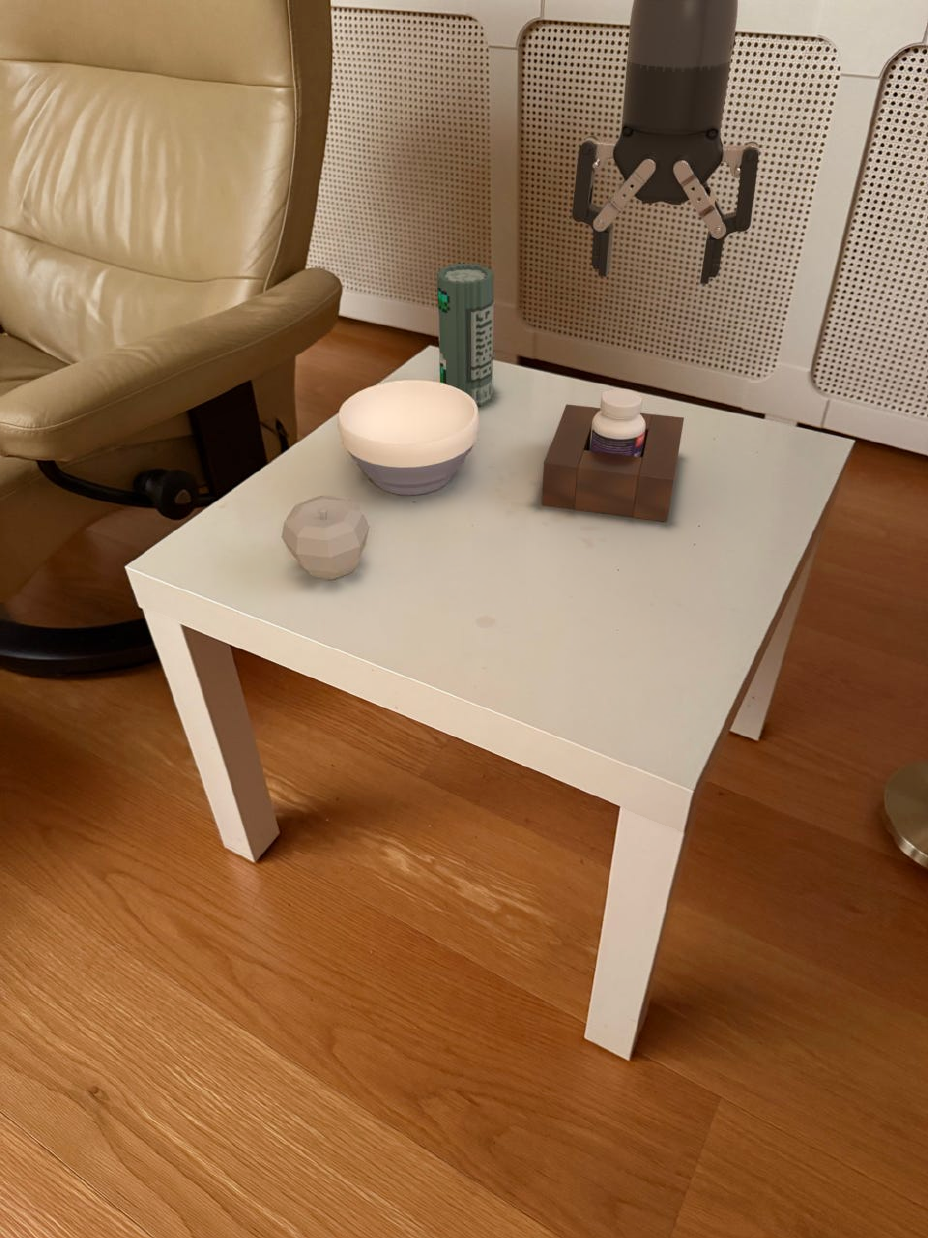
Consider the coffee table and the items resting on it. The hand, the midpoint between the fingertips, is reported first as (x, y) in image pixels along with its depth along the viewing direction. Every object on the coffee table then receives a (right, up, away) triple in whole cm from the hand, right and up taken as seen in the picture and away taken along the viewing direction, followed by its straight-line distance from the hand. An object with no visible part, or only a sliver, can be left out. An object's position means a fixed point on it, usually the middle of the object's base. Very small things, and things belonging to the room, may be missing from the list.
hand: (653, 277), depth 75 cm
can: (-16, -2, +33) cm, 37 cm away
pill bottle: (0, -15, +18) cm, 24 cm away
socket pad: (0, -14, +18) cm, 23 cm away
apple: (-29, -25, +8) cm, 39 cm away
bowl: (-22, -14, +20) cm, 33 cm away
